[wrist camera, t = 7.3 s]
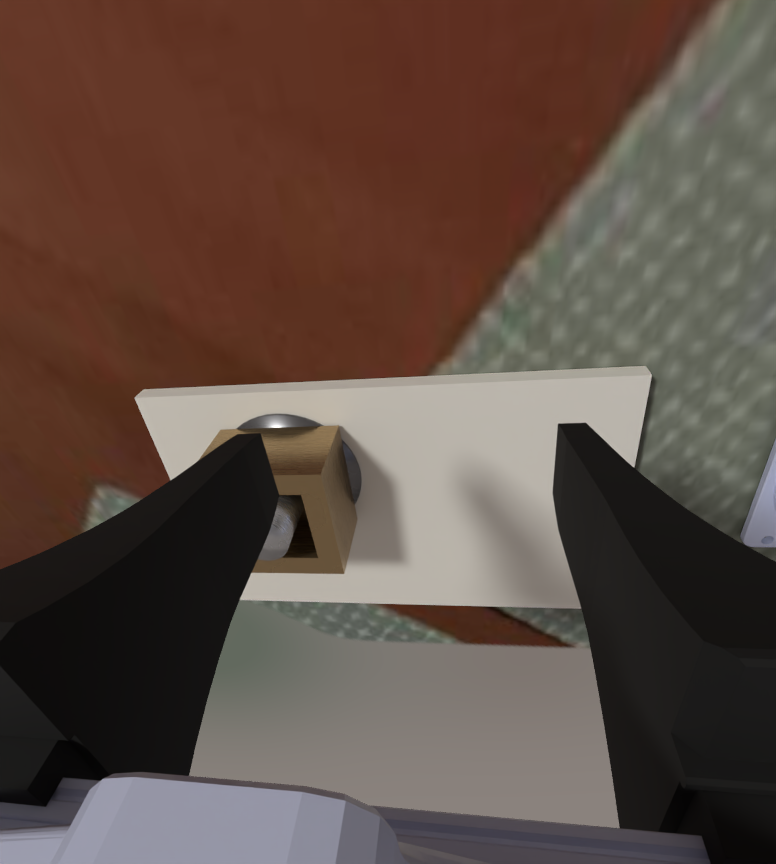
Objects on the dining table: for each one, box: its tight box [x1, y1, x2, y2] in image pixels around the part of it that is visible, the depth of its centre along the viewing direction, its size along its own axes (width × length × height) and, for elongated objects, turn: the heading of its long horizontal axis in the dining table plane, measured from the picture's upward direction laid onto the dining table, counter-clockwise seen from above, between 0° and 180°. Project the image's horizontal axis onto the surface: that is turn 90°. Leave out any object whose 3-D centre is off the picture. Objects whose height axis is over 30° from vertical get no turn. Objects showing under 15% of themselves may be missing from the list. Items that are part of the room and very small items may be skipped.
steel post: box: [236, 414, 362, 561], centre depth 22 cm, size 7×7×4 cm
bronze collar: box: [198, 425, 358, 574], centre depth 23 cm, size 6×6×4 cm
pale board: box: [135, 366, 652, 609], centre depth 25 cm, size 22×14×1 cm, turn 96°
